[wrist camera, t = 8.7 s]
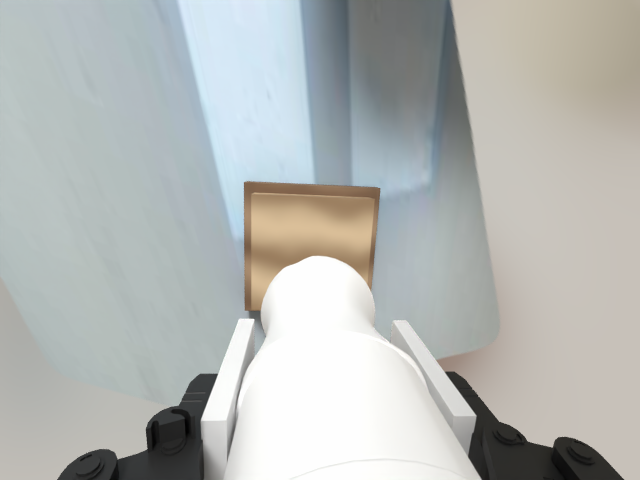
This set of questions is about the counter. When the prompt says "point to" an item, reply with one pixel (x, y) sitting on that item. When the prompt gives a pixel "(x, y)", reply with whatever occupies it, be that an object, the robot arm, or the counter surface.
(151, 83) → the counter surface
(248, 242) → the walnut slab
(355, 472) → the water bottle
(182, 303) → the counter surface
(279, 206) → the oak slab
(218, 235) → the counter surface
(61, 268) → the counter surface
